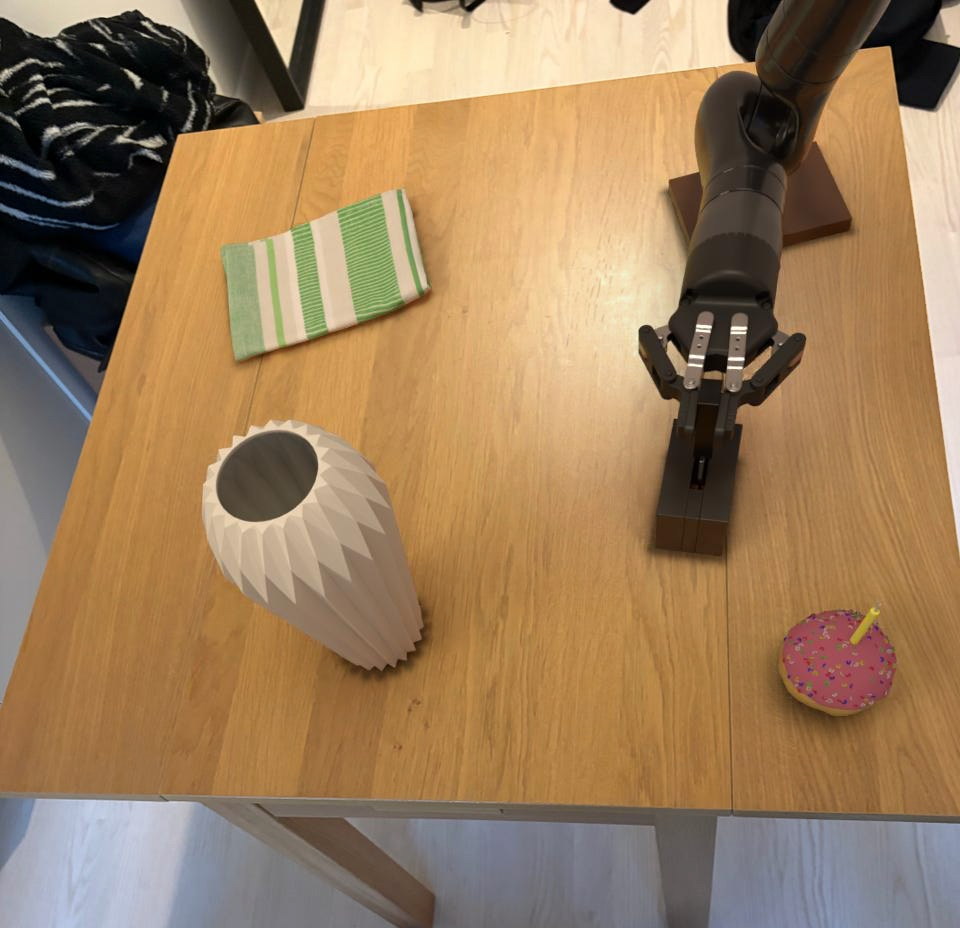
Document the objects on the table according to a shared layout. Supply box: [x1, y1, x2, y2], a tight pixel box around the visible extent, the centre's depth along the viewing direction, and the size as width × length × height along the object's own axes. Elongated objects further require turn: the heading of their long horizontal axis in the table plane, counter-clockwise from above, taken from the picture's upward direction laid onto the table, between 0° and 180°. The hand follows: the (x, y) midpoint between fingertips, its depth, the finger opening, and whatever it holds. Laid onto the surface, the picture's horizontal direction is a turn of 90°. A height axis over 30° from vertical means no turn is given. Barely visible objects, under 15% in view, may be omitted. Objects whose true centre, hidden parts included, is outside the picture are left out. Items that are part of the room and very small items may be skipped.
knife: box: [692, 377, 724, 490], centre depth 68 cm, size 2×3×15 cm, turn 166°
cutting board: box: [667, 140, 853, 250], centre depth 88 cm, size 16×12×2 cm
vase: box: [201, 418, 425, 672], centre depth 65 cm, size 13×13×26 cm
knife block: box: [654, 417, 744, 556], centre depth 74 cm, size 6×10×6 cm, turn 167°
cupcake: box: [777, 602, 899, 717], centre depth 63 cm, size 9×8×12 cm
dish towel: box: [220, 188, 432, 362], centre depth 95 cm, size 18×23×3 cm
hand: (703, 440), depth 62 cm, fingers closed on knife, 1 cm apart
